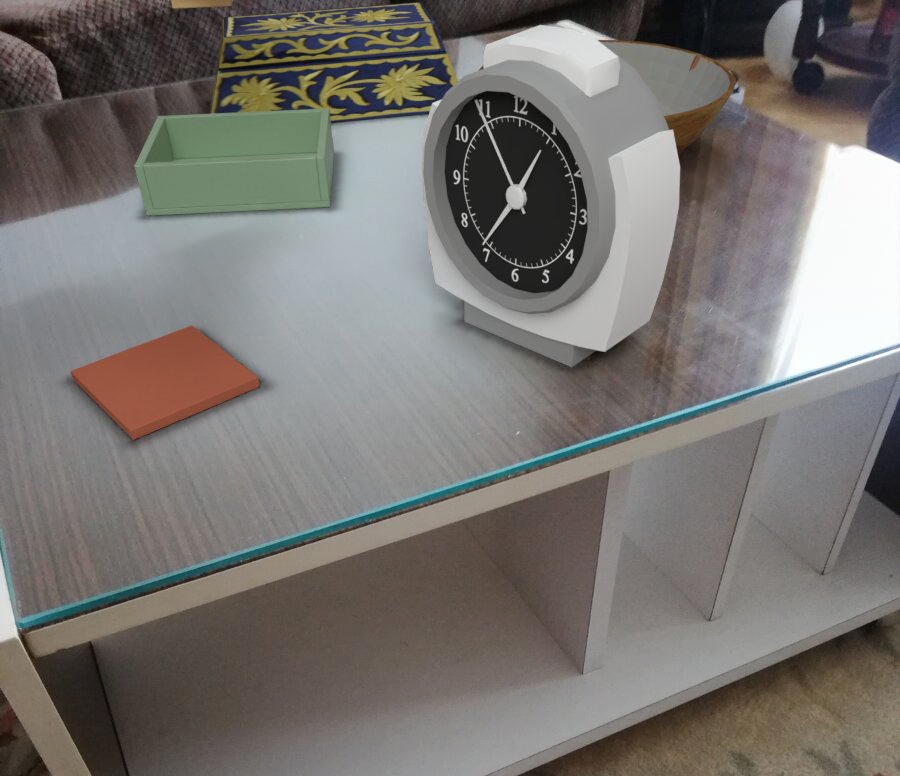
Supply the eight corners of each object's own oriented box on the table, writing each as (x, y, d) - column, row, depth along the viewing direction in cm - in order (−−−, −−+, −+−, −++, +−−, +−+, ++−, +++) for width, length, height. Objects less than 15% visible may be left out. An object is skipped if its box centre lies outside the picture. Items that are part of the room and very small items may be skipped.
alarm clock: (416, 314, 73) (400, 24, 59) (485, 275, 78) (486, -3, 63) (601, 394, 65) (636, 78, 50) (667, 346, 69) (716, 42, 55)
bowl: (429, 152, 98) (425, 68, 92) (612, 104, 107) (619, 25, 101) (574, 235, 83) (581, 141, 77) (773, 171, 92) (793, 83, 86)
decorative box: (468, 110, 107) (468, 21, 100) (208, 133, 103) (190, 43, 97) (451, 81, 114) (449, -3, 108) (207, 102, 111) (190, 16, 104)
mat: (73, 380, 68) (69, 370, 67) (194, 334, 72) (191, 324, 71) (133, 440, 62) (130, 430, 62) (260, 386, 66) (258, 377, 66)
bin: (146, 216, 88) (133, 166, 85) (168, 162, 97) (157, 115, 94) (330, 207, 88) (324, 157, 85) (334, 154, 98) (329, 108, 95)
